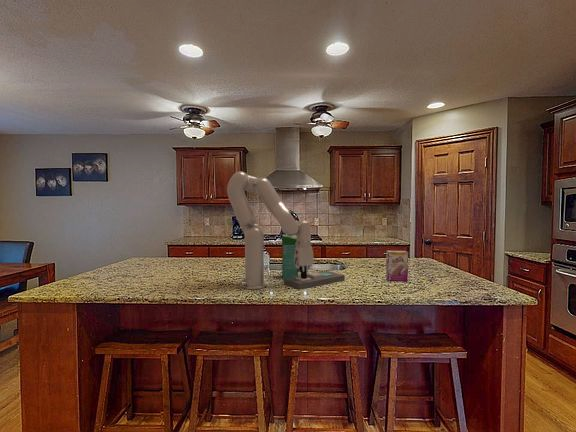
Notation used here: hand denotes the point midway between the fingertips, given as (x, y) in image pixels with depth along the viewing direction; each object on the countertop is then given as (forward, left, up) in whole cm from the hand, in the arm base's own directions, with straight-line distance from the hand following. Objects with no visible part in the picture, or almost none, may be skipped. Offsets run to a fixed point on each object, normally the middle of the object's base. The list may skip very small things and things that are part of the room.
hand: (303, 278), depth 170 cm
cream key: (0, 0, -3) cm, 3 cm away
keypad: (+8, 0, -3) cm, 9 cm away
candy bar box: (+48, -24, -4) cm, 54 cm away
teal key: (+16, 0, -3) cm, 16 cm away
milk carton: (+4, +17, -4) cm, 18 cm away
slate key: (+8, 0, -1) cm, 8 cm away
